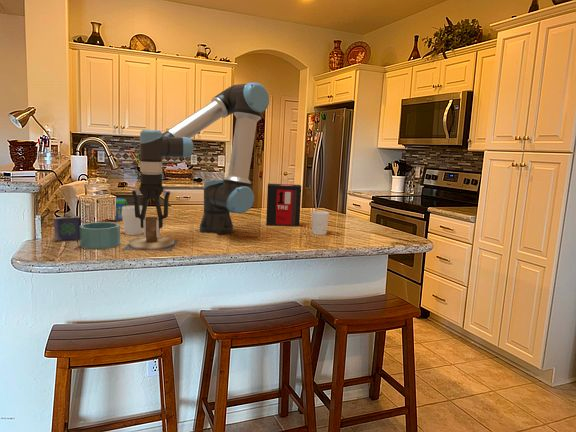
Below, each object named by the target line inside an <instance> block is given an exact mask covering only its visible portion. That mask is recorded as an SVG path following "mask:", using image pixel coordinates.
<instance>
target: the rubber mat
mask: <svg viewBox="0 0 576 432" xmlns="http://www.w3.org/2000/svg"><path fill="white" fill-rule="evenodd" d="M173 240H174V245H173V246H172V247H169V248H165V249H158V250H142V251H144V252H145V251H152V252H153V251H154V252H156V251H157V252H158V251H159V252H161V251H162V252H172V251H173V250H174V248H175V246H176V244H177V243H178V242H179V240H178V239H173ZM122 251H141V250H140V249H134V248H131V247H130V246H129V243H128V244H127V245H126V246H125V247H123V248H122Z"/></svg>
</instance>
